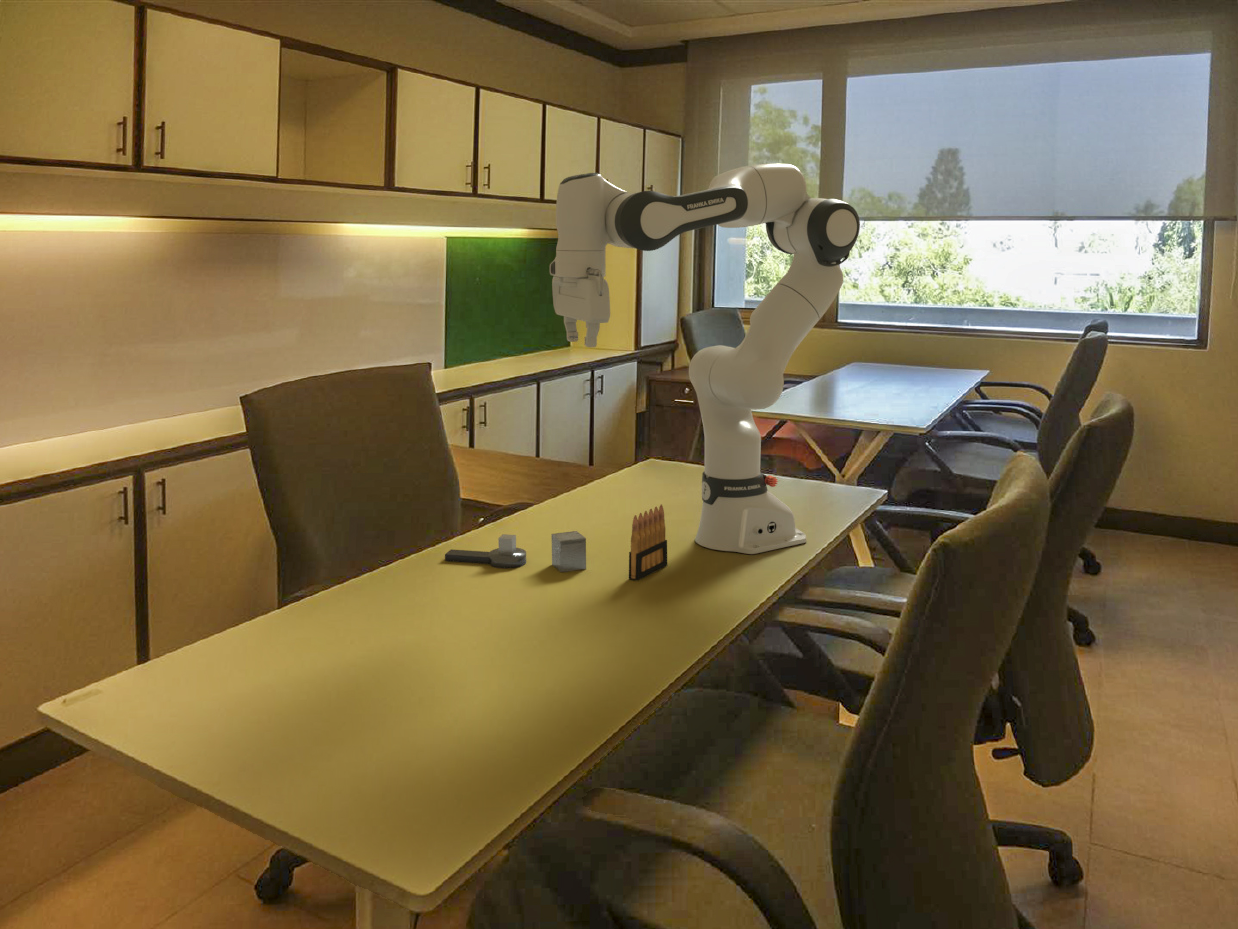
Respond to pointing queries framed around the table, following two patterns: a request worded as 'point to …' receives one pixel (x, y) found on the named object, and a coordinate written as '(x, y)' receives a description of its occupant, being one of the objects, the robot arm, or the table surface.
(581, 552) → the socket
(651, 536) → the ammunition clip
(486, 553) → the ratchet
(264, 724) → the table surface
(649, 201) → the robot arm
